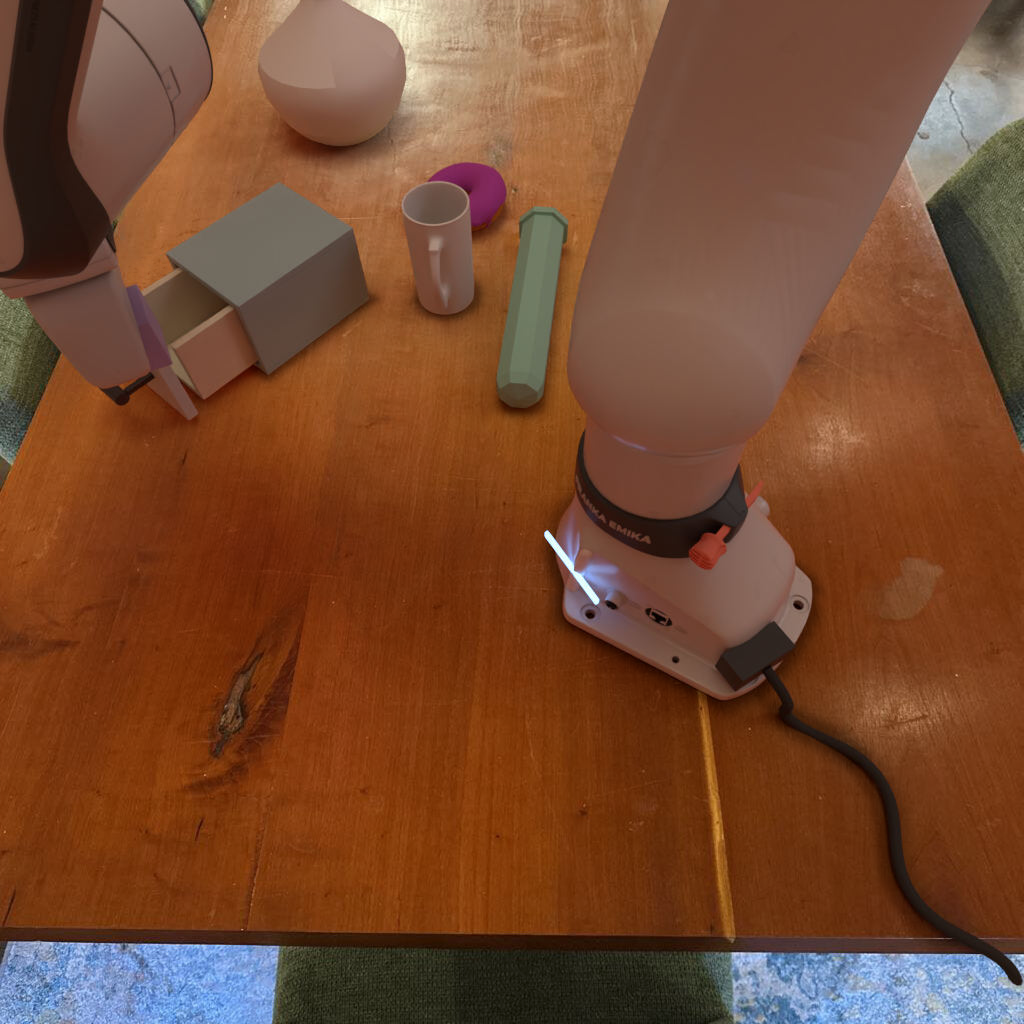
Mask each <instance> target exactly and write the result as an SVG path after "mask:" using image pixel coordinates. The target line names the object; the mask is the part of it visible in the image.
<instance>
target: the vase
mask: <svg viewBox="0 0 1024 1024" xmlns="http://www.w3.org/2000/svg"><path fill="white" fill-rule="evenodd" d="M261 45H262V46H261V47H260V49H259V55H258V59H257V60H258V62H257V73H258V76H259V80H260V82H261V85H262V88H263V91H264V94H265V97H266V99H267V101H268V102H269V103H270V104H271V106H272V107H273V108H274V110H275V111H276V112H277V113H278V115H279V116H280V117H281V118H282V120H283V121H284V122H285V123H286V124H287V125H288V126H289V127H291V129H293V130H295V131H296V132H297V133H299V135H301V136H303V137H305V138H307V139H308V140H310V141H313V142H316V143H318V144H323V145H326V146H330V147H350V146H353V145H359V144H361V143H364V142H366V141H368V140H370V139H372V138H373V137H375V136H377V134H379V133H381V131H382V130H384V129H385V127H386V126H388V124H389V123H390V122H391V120H392V119H393V117H394V115H395V114H396V113H397V111H398V108H399V106H400V104H401V102H402V98H403V97H402V96H403V93H404V89H405V87H406V81H407V63H406V54H405V49H404V48H403V46H402V44H401V42H400V40H399V38H398V36H397V34H396V32H395V31H394V30H393V28H391V27H390V26H389V25H388V24H386V23H385V22H383V21H381V20H379V19H377V18H375V17H373V16H372V15H369V14H367V13H365V12H364V11H362V10H360V9H358V8H356V7H355V6H353V5H351V4H350V3H347V2H346V1H344V0H299V3H298V4H297V5H296V6H295V7H294V8H293V10H292V11H291V12H290V13H289V14H288V16H287V17H285V19H284V20H283V22H281V24H279V26H278V27H277V28H276V29H275V30H274V31H273V32H272V33H271V34H270V35H269V36H268V37H267V38H266V39H265V41H264V42H263V44H261Z"/></svg>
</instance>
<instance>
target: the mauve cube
mask: <svg viewBox="0 0 1024 1024" xmlns="http://www.w3.org/2000/svg"><path fill="white" fill-rule="evenodd" d="M125 287H126V290H127V293H128V297H129V300H130V303H131V306H132V310H133V313H134V316H135V319H136V323H137V326H138V329H139V333H140V336H141V339H142V342H143V346H144V349H145V352H146V355H147V357H148V360H149V364H150V372H151V371H154V370H157V369H160V368H163V367H166V366H169V365H172V364H173V363H172V360H171V357H170V354H169V351H168V348H167V345H166V342H165V338H164V335H163V332H162V329H161V326H160V325H159V323H158V321H157V319H156V317H155V316H154V314H153V312H152V310H151V309H150V307H149V305H148V303H147V301H146V300H145V298H144V296H143V294H142V293H141V291H142V290H141V289H140V287H139V286H138V284H132V285H129V286H125Z"/></svg>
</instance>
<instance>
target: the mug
mask: <svg viewBox="0 0 1024 1024" xmlns="http://www.w3.org/2000/svg"><path fill="white" fill-rule="evenodd" d="M400 208H401V212H402V220H403V225H404V230H405V236H406V241H407V247H408V251H409V257H410V262H411V266H412V272H413V278H414V282H415V286H416V292H417V297H418V300H419V303H420V304H421V306H422V307H423V308H424V309H425V310H427V311H428V312H430V313H432V314H435V315H440V316H441V315H442V316H443V315H444V316H449V315H455V314H457V313H461V312H463V311H465V309H467V308H468V307H469V306H470V305H471V304H472V302H473V300H474V297H475V275H474V273H475V272H474V258H473V257H474V256H473V237H472V232H471V215H470V204H469V197H468V195H467V193H466V192H465V191H464V190H463V189H462V188H461V187H459V186H457V185H455V184H453V183H449V182H444V181H432V182H427V181H426V182H423V183H420V184H418V185H415V186H413V187H412V188H410V189H409V190H408V191H407V192H406V193H405V194H404V196H403V197H402V199H401V203H400Z"/></svg>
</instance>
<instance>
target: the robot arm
mask: <svg viewBox="0 0 1024 1024" xmlns="http://www.w3.org/2000/svg"><path fill="white" fill-rule="evenodd" d="M992 1H993V0H668V2H667V5H666V8H665V11H664V14H663V16H662V20H661V23H660V26H659V29H658V32H657V35H656V38H655V41H654V44H653V46H652V50H651V54H650V57H649V59H648V63H647V66H646V68H645V71H644V75H643V78H642V81H641V84H640V88H639V91H638V94H637V96H636V100H635V103H634V106H633V109H632V112H631V116H630V119H629V122H628V124H627V126H626V127H627V128H626V131H625V134H624V137H623V140H622V144H621V147H620V149H619V153H618V156H617V159H616V162H615V166H614V167H613V168H614V169H613V171H612V175H611V178H610V181H609V184H608V186H607V187H608V188H607V191H606V194H605V198H604V200H603V204H602V206H601V210H600V213H599V216H598V219H597V223H596V225H595V230H594V232H593V236H592V238H591V242H590V246H589V248H588V252H587V255H586V259H585V262H584V266H583V268H582V272H581V276H580V279H579V283H578V288H577V292H576V297H575V302H574V307H573V313H572V319H571V324H570V325H571V326H570V331H569V332H570V333H569V334H570V335H569V340H568V341H569V342H568V349H567V350H568V351H567V361H566V374H567V381H568V385H569V387H570V390H571V393H572V395H573V398H574V399H575V400H576V402H577V403H578V405H579V406H580V408H581V410H582V411H583V412H584V413H585V414H586V417H585V418H586V420H585V427H584V430H583V431H582V433H581V436H580V438H579V442H578V446H577V453H576V458H575V468H574V489H575V493H574V495H573V499H572V501H571V503H570V505H569V506H568V507H567V509H566V510H565V511H564V513H563V514H562V516H561V518H560V521H559V523H558V526H557V529H556V533H555V538H554V537H553V535H552V534H551V533H550V532H549V530H546V531H545V532H544V537H545V539H546V540H547V542H548V543H549V544H550V546H551V547H552V548H553V549H554V551H555V559H556V563H557V566H558V569H559V572H560V575H561V578H562V581H563V587H564V588H563V595H562V614H563V617H564V619H565V620H566V621H567V622H568V623H569V624H571V625H572V626H574V627H576V628H578V629H580V630H583V631H584V632H586V633H588V634H591V635H592V636H594V637H596V638H598V639H599V640H601V641H603V642H605V643H608V644H609V645H611V646H614V647H615V648H617V649H619V650H621V651H623V652H624V653H628V654H629V655H630V656H633V657H634V658H637V659H638V660H640V661H642V662H644V663H646V664H648V665H650V666H652V667H654V668H655V669H658V670H660V671H662V672H663V673H666V674H668V675H669V676H671V677H673V678H675V679H677V680H679V681H680V682H682V683H685V684H686V685H688V686H690V687H692V688H694V689H696V690H699V691H700V692H702V693H704V694H706V695H708V696H710V697H712V698H714V699H717V700H719V701H729V700H732V699H736V698H738V697H740V696H743V695H746V694H747V693H750V692H751V691H753V690H755V688H757V687H758V686H760V685H761V684H763V683H764V681H766V680H767V682H768V683H769V685H770V686H771V687H772V689H773V690H774V692H775V693H776V695H777V697H778V699H779V701H780V702H781V704H780V706H779V707H778V709H777V710H778V715H779V716H780V718H781V719H782V720H783V722H785V724H787V725H788V726H789V727H791V728H792V729H794V730H795V731H797V732H800V733H802V734H804V735H806V736H808V737H810V738H812V739H814V740H816V741H818V742H820V743H822V744H824V745H825V746H827V747H829V748H831V749H833V750H835V751H837V752H839V753H841V754H842V755H844V756H846V757H848V758H849V759H851V760H852V761H854V762H855V763H857V764H858V765H859V766H860V767H861V768H862V769H863V770H865V771H866V773H867V774H868V775H869V776H870V777H871V779H872V780H873V781H874V783H875V784H876V786H877V788H878V790H879V792H880V794H881V796H882V800H883V803H884V807H885V812H886V818H887V827H888V829H887V830H888V842H889V852H890V858H891V863H892V864H891V865H892V868H893V871H894V874H895V878H896V880H897V882H898V884H899V886H900V889H901V891H902V892H903V894H904V896H905V898H906V899H907V900H908V902H909V903H910V905H911V906H912V907H913V908H914V910H915V911H916V912H917V914H919V915H920V916H921V918H923V919H924V920H925V921H926V922H927V923H928V924H930V925H931V926H933V927H934V928H935V929H937V930H938V931H939V932H941V933H943V934H944V935H946V936H947V937H949V938H951V939H952V940H954V941H956V942H958V943H960V944H962V945H964V946H965V947H966V948H969V949H971V950H973V951H975V952H976V953H979V954H980V955H982V956H983V957H986V958H987V959H989V960H991V961H992V962H993V963H994V964H996V966H998V967H999V968H1000V969H1001V970H1002V971H1003V972H1004V974H1005V975H1006V977H1007V979H1008V980H1009V982H1011V983H1012V984H1013V985H1015V986H1016V987H1021V986H1022V985H1023V982H1024V980H1023V976H1022V974H1021V972H1020V970H1019V969H1018V966H1017V965H1016V964H1015V963H1014V962H1013V961H1012V960H1011V958H1009V957H1008V956H1007V955H1005V954H1004V953H1003V952H1002V951H1001V950H999V949H998V948H996V947H994V946H993V945H992V944H989V943H988V942H986V941H985V940H983V939H980V938H979V937H977V936H975V935H973V934H971V933H969V932H968V931H966V930H963V929H962V928H960V927H958V926H956V925H954V924H953V923H951V922H950V921H948V920H946V919H945V918H944V917H942V916H941V915H939V914H938V913H937V912H935V911H934V910H933V909H932V908H931V907H930V906H929V905H928V904H927V903H926V902H925V900H924V899H923V898H922V897H921V896H920V894H919V893H918V891H917V890H916V888H915V886H914V885H913V882H912V880H911V878H910V876H909V872H908V870H907V867H906V866H907V865H906V862H905V857H904V850H903V839H902V827H901V818H900V812H899V807H898V803H897V800H896V797H895V794H894V792H893V789H892V787H891V786H890V783H889V781H888V779H886V777H885V775H884V774H883V772H882V771H881V770H880V769H879V767H878V766H877V765H876V764H875V763H874V762H873V761H872V760H871V759H869V758H868V757H867V756H866V755H865V754H864V753H862V752H860V751H859V750H858V749H856V748H855V747H853V746H851V745H849V744H848V743H846V742H845V741H842V740H840V739H838V738H836V737H833V736H832V735H829V734H827V733H825V732H822V731H820V730H818V729H816V728H814V727H812V726H811V725H808V724H806V723H805V722H804V721H801V720H800V719H799V718H798V717H796V716H795V715H794V714H793V713H792V712H793V710H794V707H795V703H794V701H793V698H792V695H791V694H790V691H789V690H788V688H787V687H786V685H785V684H784V682H783V681H782V680H781V678H780V677H779V676H778V674H777V673H776V670H777V669H778V668H779V667H780V665H781V664H782V663H783V662H784V660H786V659H788V657H789V656H790V654H791V653H792V652H793V651H794V649H796V647H797V645H796V643H797V642H798V639H799V638H800V636H801V634H802V632H803V631H804V628H805V626H806V623H807V621H808V619H809V616H810V612H811V609H812V602H813V584H812V581H811V579H810V578H809V576H808V575H806V574H805V572H804V571H802V570H801V569H800V568H799V566H797V564H796V558H795V553H794V551H793V548H792V546H791V545H790V543H788V541H787V540H786V539H785V538H784V537H783V535H782V534H781V533H780V532H779V531H778V529H777V528H776V527H775V526H774V524H773V523H772V522H771V521H770V520H769V519H768V517H769V515H770V513H771V509H770V505H769V504H768V502H767V501H766V500H765V499H764V498H763V497H762V496H760V492H761V490H762V487H763V485H764V480H760V481H759V482H758V483H757V485H756V486H755V487H754V488H753V489H752V490H751V492H750V493H749V494H748V493H747V491H745V486H744V485H745V484H744V479H743V473H742V468H741V463H740V461H741V458H742V456H743V454H744V451H745V448H746V446H747V444H748V441H749V440H751V439H752V438H753V437H755V436H756V435H757V434H758V433H760V431H762V429H763V428H764V427H765V425H766V424H767V423H768V421H769V419H770V418H771V416H772V414H773V412H774V410H775V408H776V406H777V404H778V402H779V401H780V399H781V397H782V395H783V393H784V391H785V389H786V387H787V385H788V383H789V381H790V379H791V378H792V377H791V376H792V375H793V372H794V370H795V368H796V366H797V364H798V361H799V359H800V358H801V355H802V354H803V352H804V350H805V348H806V346H807V344H808V342H809V340H810V338H811V336H812V334H813V332H814V330H815V329H816V326H817V324H818V323H819V321H820V319H822V318H821V317H822V316H823V314H824V312H825V311H826V309H827V307H828V305H829V303H830V301H831V300H832V298H833V296H834V295H835V293H836V290H837V289H838V287H839V286H840V283H841V281H842V280H843V278H844V277H845V275H846V273H847V270H848V269H849V267H850V265H851V264H852V262H853V259H854V257H855V256H856V254H857V252H858V250H859V248H860V246H861V245H862V242H863V240H864V238H865V237H866V235H867V233H868V231H869V229H870V227H871V226H872V223H873V222H874V220H875V218H876V216H877V214H878V212H879V210H880V208H881V206H882V204H883V202H884V200H885V198H886V196H887V194H888V192H889V189H890V188H891V186H892V184H893V182H894V180H895V178H896V176H897V174H898V172H899V170H900V168H901V166H902V164H903V162H904V160H905V158H906V156H907V154H908V152H909V150H910V147H911V145H912V144H913V142H914V139H915V137H916V135H917V133H918V131H919V129H920V127H921V125H922V123H923V121H924V119H925V117H926V115H927V113H928V110H929V109H930V106H931V105H932V103H933V100H934V99H935V97H936V95H937V93H938V91H939V90H940V88H941V86H942V84H943V82H944V81H945V78H946V76H947V75H948V73H949V72H950V69H951V68H952V66H953V64H954V63H955V61H956V60H957V58H958V56H959V54H960V52H961V51H962V49H963V48H964V46H965V44H966V42H967V41H968V39H969V37H970V36H971V34H972V33H973V31H974V30H975V28H976V26H977V25H978V24H979V22H980V20H981V18H982V17H983V15H984V13H985V12H986V11H987V9H988V7H989V6H990V4H991V3H992ZM213 65H214V64H213V58H212V53H211V47H210V45H209V41H208V38H207V35H206V32H205V29H204V27H203V25H202V23H201V21H200V18H199V16H198V15H197V12H196V11H195V9H194V7H193V6H192V4H191V3H190V1H189V0H0V290H1V291H2V293H3V294H4V296H5V297H7V298H8V299H10V300H17V299H20V298H21V299H23V301H24V303H25V306H26V307H27V309H28V310H29V312H30V314H31V315H32V316H33V318H34V320H35V321H36V323H37V324H38V326H40V329H42V331H43V332H44V334H45V335H46V336H47V337H48V338H49V339H50V340H51V342H52V343H53V344H54V345H55V346H56V347H57V349H58V350H59V351H60V352H61V354H62V355H63V356H64V357H65V358H66V360H67V361H68V362H69V363H70V364H71V366H72V367H73V368H74V370H76V371H77V372H78V373H79V374H80V376H81V377H82V378H83V379H84V380H85V381H86V382H87V383H89V384H90V385H91V386H93V387H95V388H97V389H99V388H102V389H107V388H111V387H114V386H121V385H124V384H127V383H130V382H134V381H136V380H137V379H138V378H141V377H143V376H145V375H147V374H148V373H149V372H150V364H149V360H148V357H147V355H146V352H145V349H144V346H143V342H142V339H141V336H140V333H139V329H138V326H137V323H136V319H135V316H134V313H133V310H132V306H131V303H130V300H129V297H128V293H127V290H126V287H127V286H126V283H125V280H124V278H123V274H122V270H121V268H120V263H119V259H118V255H117V245H116V241H115V237H114V235H115V234H114V227H113V223H114V221H115V220H116V219H117V218H118V217H119V216H120V214H121V213H122V211H123V210H124V209H125V208H126V206H127V205H128V204H129V203H130V201H131V200H132V199H133V197H135V195H136V193H137V192H139V190H140V188H142V186H143V184H145V182H146V181H147V179H148V178H149V177H150V176H151V175H152V173H153V172H154V171H155V169H156V168H157V167H158V166H159V164H160V163H161V162H162V160H163V159H164V158H165V157H166V156H167V153H168V152H169V151H170V150H171V147H173V145H174V144H175V143H176V142H177V140H178V139H179V138H180V136H181V135H182V134H183V133H184V132H185V130H186V129H187V127H188V126H189V125H190V123H191V122H192V120H193V119H194V118H195V117H196V115H197V114H198V113H199V111H200V110H201V108H202V106H203V104H204V102H205V101H206V100H207V98H208V97H209V96H210V94H211V91H212V87H213V83H214V66H213ZM794 605H798V606H799V607H800V609H797V608H796V607H795V606H794ZM587 614H592V615H593V616H594V617H593V618H588V617H587V616H586V615H587ZM674 661H675V662H674Z"/></svg>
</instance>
